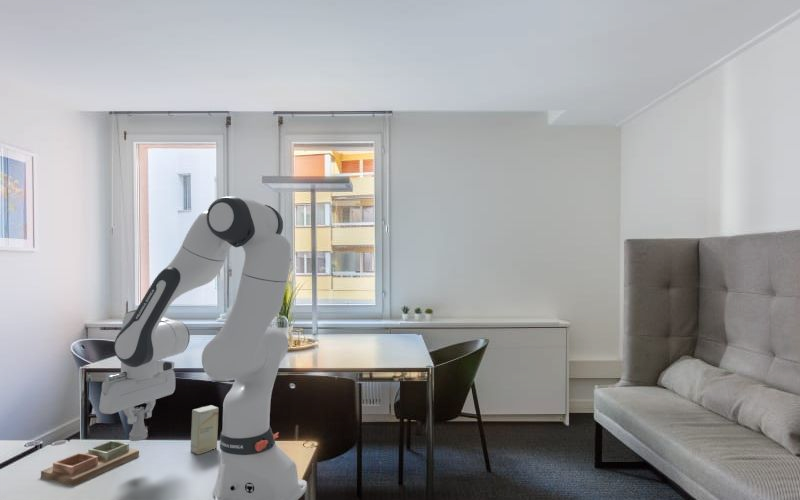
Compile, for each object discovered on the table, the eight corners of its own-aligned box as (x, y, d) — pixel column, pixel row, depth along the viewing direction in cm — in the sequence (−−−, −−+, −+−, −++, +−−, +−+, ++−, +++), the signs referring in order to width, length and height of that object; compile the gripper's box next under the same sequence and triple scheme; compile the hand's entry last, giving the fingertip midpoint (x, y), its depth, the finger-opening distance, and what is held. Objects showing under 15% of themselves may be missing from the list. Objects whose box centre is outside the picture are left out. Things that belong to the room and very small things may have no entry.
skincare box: (197, 455, 124) (198, 412, 125) (189, 451, 127) (191, 409, 127) (218, 448, 129) (219, 407, 130) (210, 444, 132) (211, 404, 132)
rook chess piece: (151, 435, 118) (152, 405, 118) (140, 442, 113) (140, 411, 114) (136, 435, 118) (137, 405, 119) (124, 441, 114) (124, 410, 114)
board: (138, 455, 123) (139, 443, 123) (73, 485, 106) (73, 471, 106) (108, 449, 127) (109, 437, 127) (40, 477, 110) (41, 463, 110)
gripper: (111, 378, 106) (111, 435, 105) (179, 361, 125) (179, 409, 124) (93, 376, 108) (92, 433, 107) (162, 360, 127) (162, 408, 127)
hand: (139, 420), depth 116 cm, fingers closed on rook chess piece, 3 cm apart
